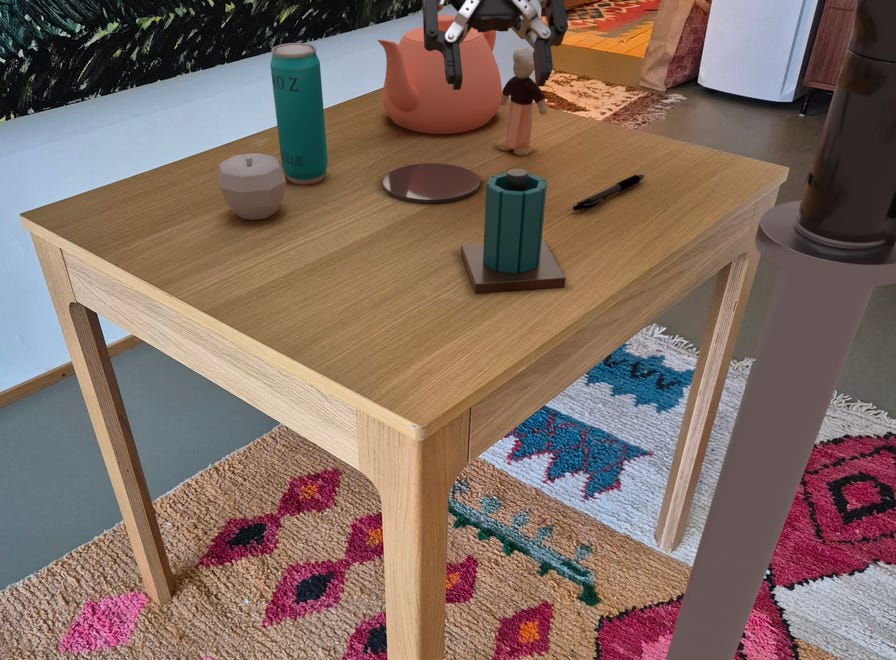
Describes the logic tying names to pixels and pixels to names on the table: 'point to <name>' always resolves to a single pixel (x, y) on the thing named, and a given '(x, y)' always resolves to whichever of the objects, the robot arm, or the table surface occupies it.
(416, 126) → the teapot
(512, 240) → the teal octagonal tube
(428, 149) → the table surface
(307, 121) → the beverage can
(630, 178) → the pen
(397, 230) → the table surface
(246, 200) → the apple
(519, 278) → the holder
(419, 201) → the slate coaster
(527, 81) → the grandmother figurine
